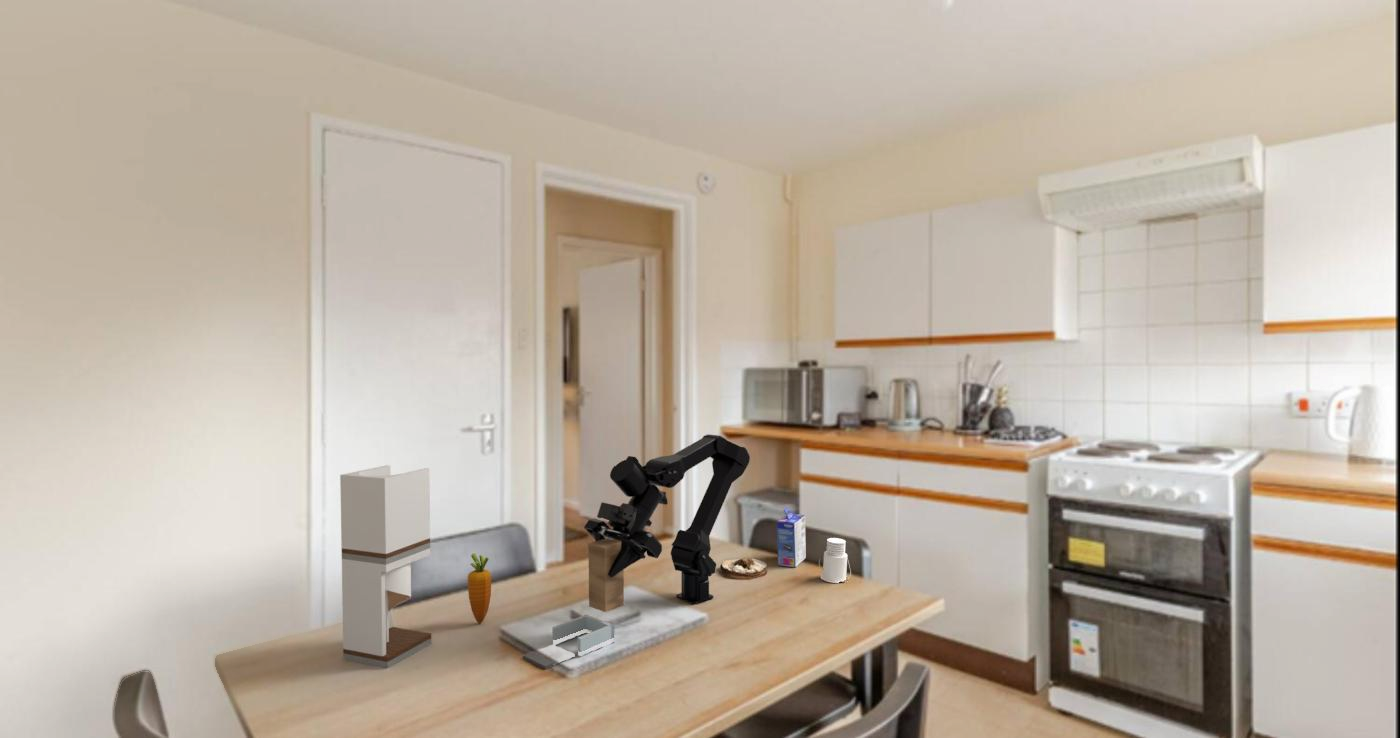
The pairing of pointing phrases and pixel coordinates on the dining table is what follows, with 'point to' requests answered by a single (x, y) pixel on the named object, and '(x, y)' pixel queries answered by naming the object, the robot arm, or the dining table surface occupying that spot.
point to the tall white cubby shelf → (381, 560)
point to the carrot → (479, 588)
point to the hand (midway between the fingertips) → (601, 573)
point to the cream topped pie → (743, 568)
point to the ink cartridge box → (791, 539)
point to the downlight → (835, 561)
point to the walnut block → (605, 576)
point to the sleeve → (599, 635)
